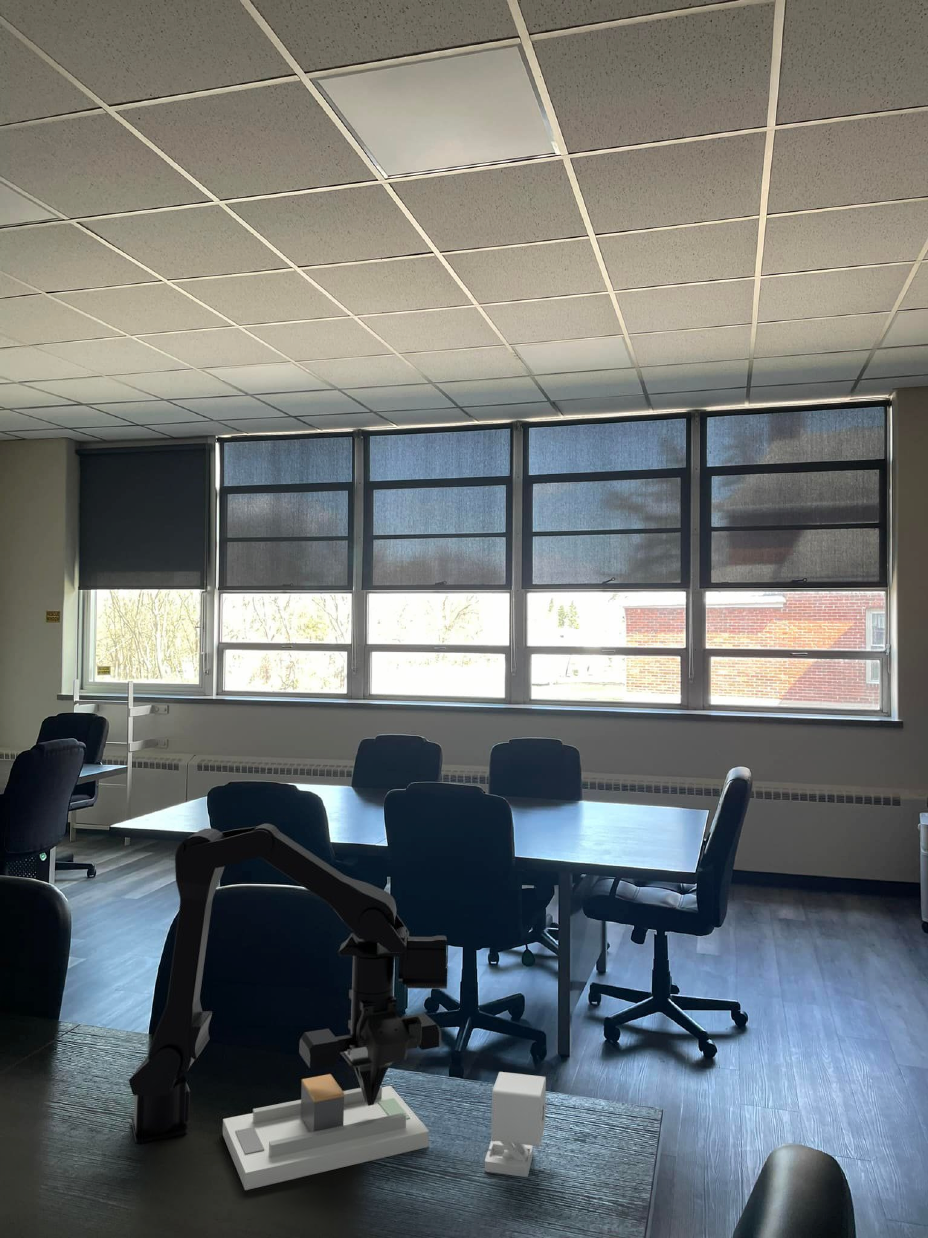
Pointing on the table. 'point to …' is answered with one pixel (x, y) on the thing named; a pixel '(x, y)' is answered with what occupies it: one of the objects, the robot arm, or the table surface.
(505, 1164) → the security camera
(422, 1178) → the table surface
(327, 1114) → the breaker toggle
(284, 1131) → the white rail tray
